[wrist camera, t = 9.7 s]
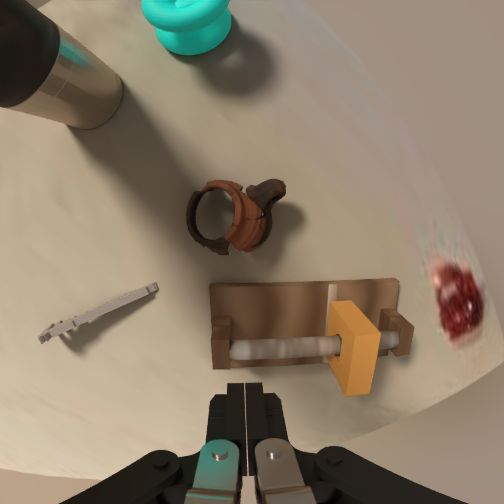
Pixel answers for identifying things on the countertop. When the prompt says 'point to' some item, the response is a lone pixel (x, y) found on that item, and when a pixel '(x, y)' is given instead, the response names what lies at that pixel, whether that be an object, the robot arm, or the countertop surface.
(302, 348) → the pipe stand
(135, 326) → the countertop surface
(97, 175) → the countertop surface
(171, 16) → the donuts
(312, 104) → the countertop surface
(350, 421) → the countertop surface
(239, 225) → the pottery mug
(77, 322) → the caliper
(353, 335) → the collar
